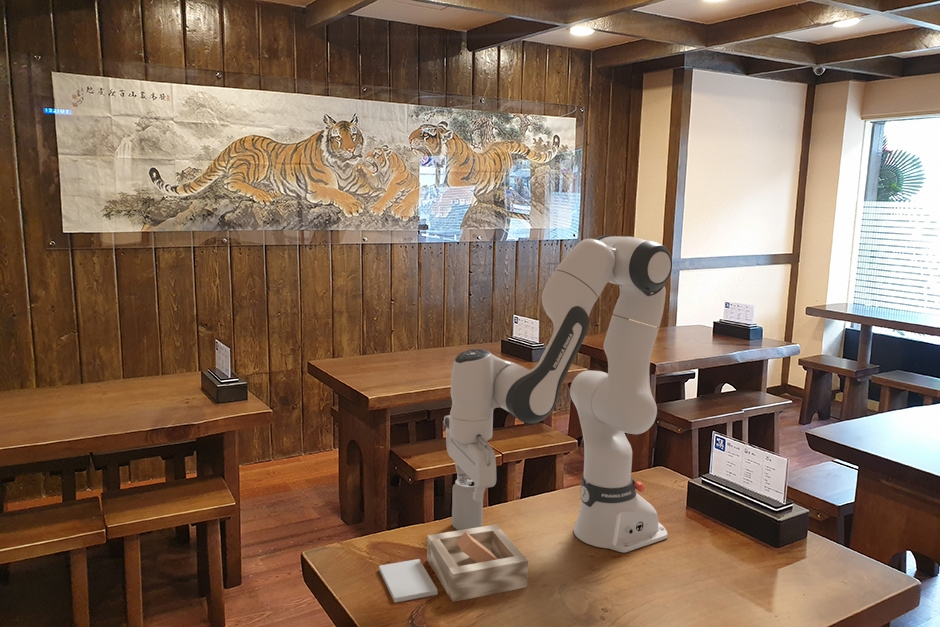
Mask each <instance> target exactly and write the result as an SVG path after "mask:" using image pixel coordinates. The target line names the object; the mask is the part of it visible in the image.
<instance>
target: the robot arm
mask: <svg viewBox="0 0 940 627" xmlns="http://www.w3.org/2000/svg"><path fill="white" fill-rule="evenodd" d="M670 252H671V251H670V250H669V249H668V248H667V247H666V246H665V245H663V244H661V243H659V242H657V241H654V240H648V239H647V240H646V239H644V238H639V237H635V236H621V235H620V236H618V235H617V236H614V235H611V234H610V235H609V234H607V235H600V236H597V237H595V238H585V239H582V240H580V241H579V242H578V243H577V244H576V245H574V247H573V248H572V249H571V250H570V251H569V252H568V253H567V254H566V256H565V257H564V258H562V260H561V261H560V263H559V264H558V265H557V267H556V268H555V269H554V271H553V273H552V274H551V276H550V277H549V278H548V280H547V282H546V284H545V286H544V288H543V291H542V293H541V304H542V307H543V310H544V312H545V313H546V315H547V316H548V317H549V319H550V320H551V322H552V324H553V331H552V334H551V337H550V339H549V341H548V343H547V345H546V347H545V349H544V350H543V352H542V355H541V357H540V359H538V360H539V361H538V362H537V364H536V366H534V367H533V368H531V369H529V368H526V367H524V366H522V365H520V364H517V363H515V362H513V361H510V360H505V359H502V358H500V357H498V356H496V355H494V354H493V353H491V351H489V350H488V349H485V348H484V349H483V348H473V349H472V348H471V349H467V350H464V351H462V352H460V353H459V354H457V355H456V357H455V358H454V361H453V364H452V368H451V376H450V397H451V401H452V402H451V403H452V404H451V409H450V412H449V415H445V416H444V417H443V425H444V427H446V428H445V444H446V451H447V454H448V456H449V457H450V458H451V459H452V461H453V462H454V466H455V471H456V474H457V475H456V478H457V479H456V480H457V481H458V482H459V483H460V484H463V483H466V482H467V477H470V479H471V480H472V481H473V482H474V485H475V491H473V499H474V500H475V501H476V502H480V501H483V502H484V496H485V495H484V494H485V492H486V489H487V488H493V487H494V486H495V485H496V483H497V462H496V461H497V460H496V454H495V450H494V448H493V447H491V446H490V442H488V441H489V440H491V439H492V437H493V423H494V410H495V409H496V408H501V409H503V410H505V411H506V412H508V413H510V414H511V415H512V416H514V417H515V418H516V419H517V420H519V421H520V422H522V423H525V424H537V423H539V422H541V421H543V420H545V419H546V418H547V417H548V416H549V415H550V414H551V413H552V412H553V410H554V408H555V406H556V404H557V402H558V398H559V395H560V392H561V387H562V384H563V383H564V381H565V378H566V376H567V374H568V372H569V370H570V368H571V365H572V364H573V362H574V360H575V358H576V356H577V354H578V353H579V350H580V348H581V346H582V344H583V342H584V340H585V338H586V335H587V333H588V329H589V326H590V314H591V312H592V309H593V307H594V305H595V303H596V302H597V300H598V299H599V297H600V296H601V294H602V292H603V291H604V289H605V287H606V286H607V284H608V283H610V284H613V285H616V286H618V287H619V288H618V290H619V296H618V298H617V301H616V304H615V306H614V308H613V312H612V315H611V319H610V320H609V325H608V327H607V331H606V334H605V338H604V341H603V350H604V353H605V355H606V359H607V365H608V366H607V372H604V371H601V370H591V369H590V370H583V371H581V372H579V373H578V374H577V375H576V376H575V377H574V378H573V380H572V382H571V384H570V388H569V396H570V398H571V400H572V402H573V404H574V406H575V408H576V410H577V414H578V418H579V424H580V427H581V431H582V439H583V445H584V446H583V448H584V455H583V457H584V458H583V461H584V462H583V473H582V475H581V482H580V506H579V511H578V515H577V520H576V523H575V525H574V528H573V533H574V536H575V537H576V538H577V539H579V540H580V541H582V542H583V543H585V544H588V545H590V546H593V547H597V548H601V549H610V550H612V551H615V552H618V553H622V554H623V553H628V552H631V551H635V550H636V549H640V548H642V547H646V546H649V545H651V544H655V543H657V542H660V541H663V540H666V539H667V538H668V536H669V534H668V531H667V529H666V528H665V526H664V525H662V523H660V522H659V516H658V512H657V510H656V508H655V507H654V506H653V505H652V504H651V503H650V502H649V501H647V500H646V499H644V497H642V496H641V495H640V494H638V492H639V493H643V492H645V491H646V485H645V484H644V483H643V482H641V481H640V480H639V481H636V480H635V479H634V478H633V477H631V476H632V464H633V449H632V445H631V443H630V442H629V440H628V438H627V435H626V434H632V435H640V434H643V433H645V432H647V431H649V429H650V428H651V427H652V426H653V425H654V423H655V421H656V418H657V415H658V407H657V404H656V400H655V399H654V396H653V394H652V389H651V383H650V382H651V381H650V367H651V358H652V355H653V351H654V346H655V343H656V339H657V336H658V333H659V330H660V327H661V323H662V319H663V315H664V310H665V303H666V296H667V295H666V294H667V290H666V287H665V285H666V284H667V282H668V281H669V279H670V276H671V274H672V271H673V259H672V255H671V253H670ZM625 433H626V434H625ZM636 490H637V491H638V492H637V491H636Z"/></svg>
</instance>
